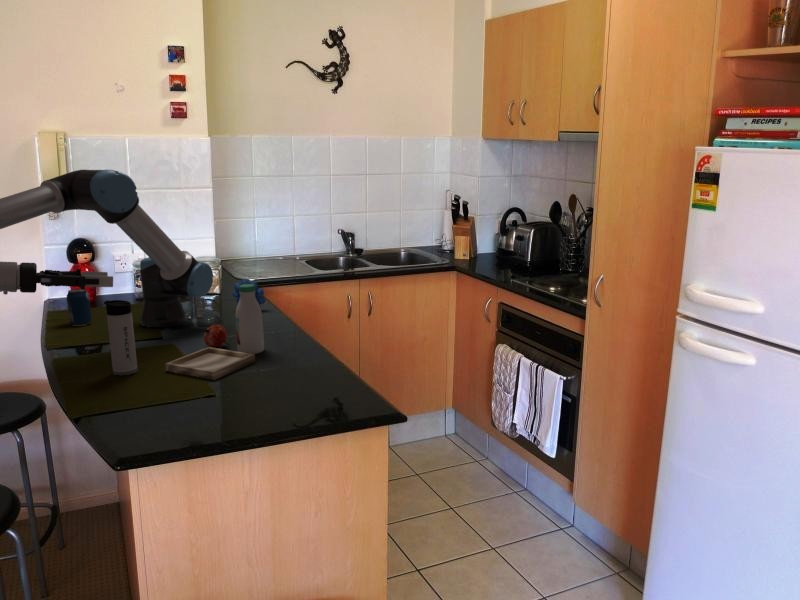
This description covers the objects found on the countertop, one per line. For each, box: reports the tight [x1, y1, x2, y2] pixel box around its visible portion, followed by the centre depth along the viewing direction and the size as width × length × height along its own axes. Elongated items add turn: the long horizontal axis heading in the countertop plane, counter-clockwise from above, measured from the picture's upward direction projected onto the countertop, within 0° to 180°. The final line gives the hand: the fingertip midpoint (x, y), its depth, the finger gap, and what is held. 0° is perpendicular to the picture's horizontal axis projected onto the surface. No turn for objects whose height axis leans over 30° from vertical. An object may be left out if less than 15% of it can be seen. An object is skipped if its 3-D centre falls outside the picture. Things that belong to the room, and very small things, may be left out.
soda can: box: [66, 288, 93, 326], centre depth 243 cm, size 7×7×12 cm
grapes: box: [231, 278, 266, 308], centre depth 257 cm, size 12×7×12 cm, turn 94°
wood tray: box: [164, 346, 256, 381], centre depth 198 cm, size 17×17×2 cm
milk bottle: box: [235, 284, 265, 355], centre depth 209 cm, size 8×8×20 cm
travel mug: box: [103, 299, 139, 376], centre depth 192 cm, size 6×7×20 cm
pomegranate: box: [203, 324, 230, 349], centre depth 215 cm, size 7×7×10 cm
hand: (110, 279), depth 189 cm, fingers open, 13 cm apart
